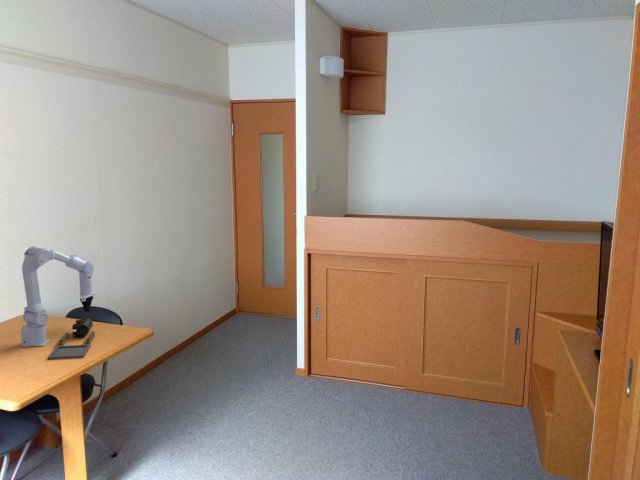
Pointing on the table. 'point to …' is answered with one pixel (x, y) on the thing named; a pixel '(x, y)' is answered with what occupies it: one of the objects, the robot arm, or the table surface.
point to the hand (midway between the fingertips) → (87, 311)
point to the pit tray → (69, 351)
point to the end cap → (82, 328)
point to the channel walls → (66, 337)
